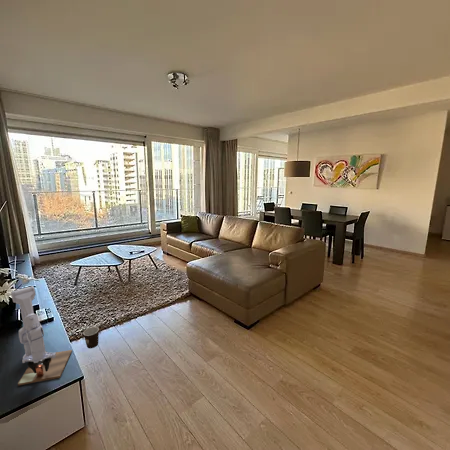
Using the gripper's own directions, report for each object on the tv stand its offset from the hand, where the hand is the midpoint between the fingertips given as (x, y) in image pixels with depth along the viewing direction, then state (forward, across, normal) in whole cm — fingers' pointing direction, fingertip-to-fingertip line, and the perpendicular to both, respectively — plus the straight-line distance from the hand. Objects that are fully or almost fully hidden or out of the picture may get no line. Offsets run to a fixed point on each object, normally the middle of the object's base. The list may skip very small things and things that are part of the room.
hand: (41, 370), depth 131 cm
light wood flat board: (+3, 0, +7) cm, 8 cm away
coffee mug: (+4, +19, +21) cm, 29 cm away
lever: (+2, -1, +5) cm, 6 cm away
